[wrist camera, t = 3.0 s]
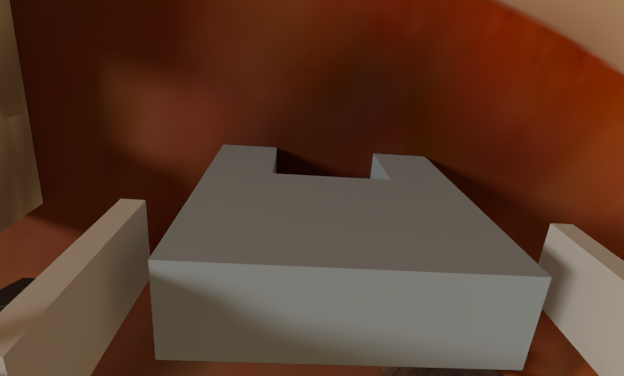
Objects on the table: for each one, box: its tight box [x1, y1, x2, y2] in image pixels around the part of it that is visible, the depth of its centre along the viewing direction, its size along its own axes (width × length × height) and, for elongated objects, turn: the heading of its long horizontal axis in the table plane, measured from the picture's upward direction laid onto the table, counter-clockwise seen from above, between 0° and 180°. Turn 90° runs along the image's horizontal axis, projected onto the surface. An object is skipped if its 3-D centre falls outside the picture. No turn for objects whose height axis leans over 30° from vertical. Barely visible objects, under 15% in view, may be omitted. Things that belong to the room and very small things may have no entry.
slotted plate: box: [148, 145, 552, 370], centre depth 16 cm, size 10×3×11 cm, turn 86°
